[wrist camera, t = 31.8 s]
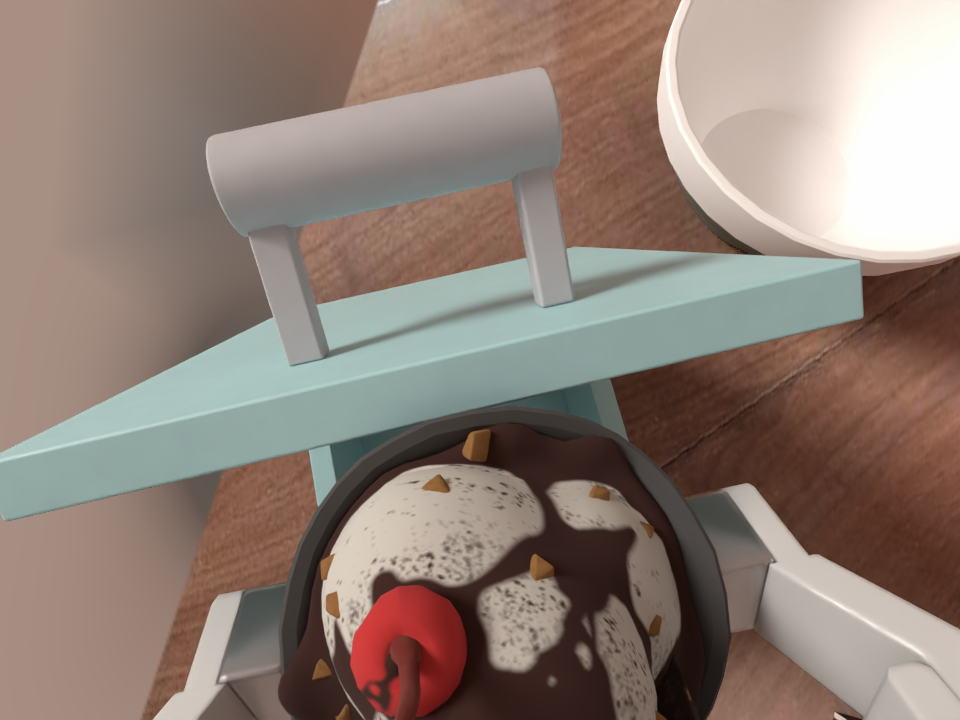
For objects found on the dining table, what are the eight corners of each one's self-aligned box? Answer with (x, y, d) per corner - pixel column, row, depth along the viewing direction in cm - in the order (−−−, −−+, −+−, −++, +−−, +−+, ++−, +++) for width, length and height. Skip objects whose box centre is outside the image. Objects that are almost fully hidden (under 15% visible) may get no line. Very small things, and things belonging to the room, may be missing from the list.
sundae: (366, 412, 18) (-123, 554, 3) (562, 379, 18) (1022, 358, 3) (397, 609, 18) (30, 1862, 3) (595, 573, 18) (1265, 1532, 3)
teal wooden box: (628, 577, 30) (679, 611, 22) (384, 639, 29) (348, 696, 22) (554, 312, 34) (576, 261, 26) (334, 363, 33) (288, 326, 25)
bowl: (688, 15, 38) (753, -134, 29) (955, 127, 36) (1118, 4, 27) (568, 239, 35) (600, 150, 25) (859, 377, 32) (1009, 336, 23)
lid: (866, 319, 9) (850, -45, 8) (1, 523, 8) (-170, 164, 7) (579, 267, 25) (560, 151, 24) (287, 333, 25) (251, 217, 23)
